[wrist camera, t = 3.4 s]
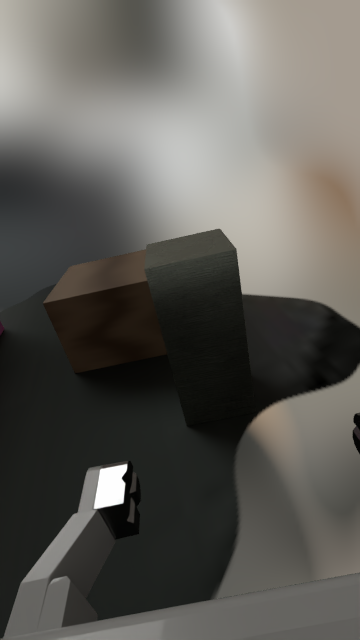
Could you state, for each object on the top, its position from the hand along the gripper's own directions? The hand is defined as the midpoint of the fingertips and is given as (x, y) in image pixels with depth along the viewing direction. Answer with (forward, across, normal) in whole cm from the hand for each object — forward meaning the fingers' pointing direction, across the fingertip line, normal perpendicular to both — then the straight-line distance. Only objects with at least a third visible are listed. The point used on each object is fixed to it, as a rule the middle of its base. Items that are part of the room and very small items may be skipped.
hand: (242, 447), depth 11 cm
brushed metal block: (+11, 0, +8) cm, 13 cm away
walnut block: (+23, +8, +8) cm, 26 cm away
